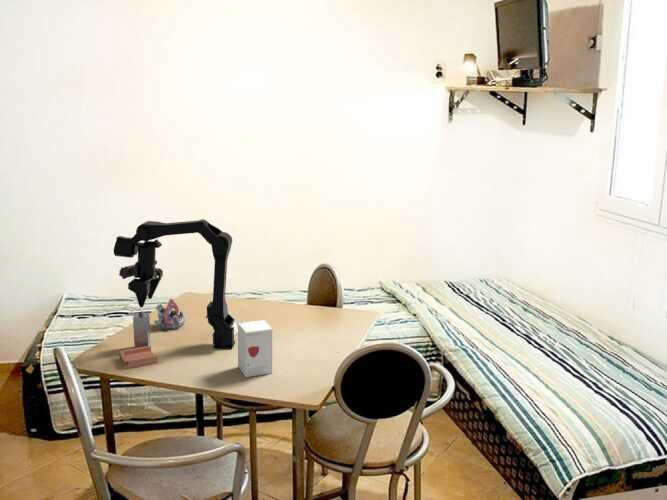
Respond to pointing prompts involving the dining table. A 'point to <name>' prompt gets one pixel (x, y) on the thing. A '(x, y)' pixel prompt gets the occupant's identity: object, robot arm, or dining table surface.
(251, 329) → the supplement box
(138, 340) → the knobbed tall block
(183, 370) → the dining table surface
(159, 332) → the dining table surface
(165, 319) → the brake caliper
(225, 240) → the robot arm
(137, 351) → the tray
